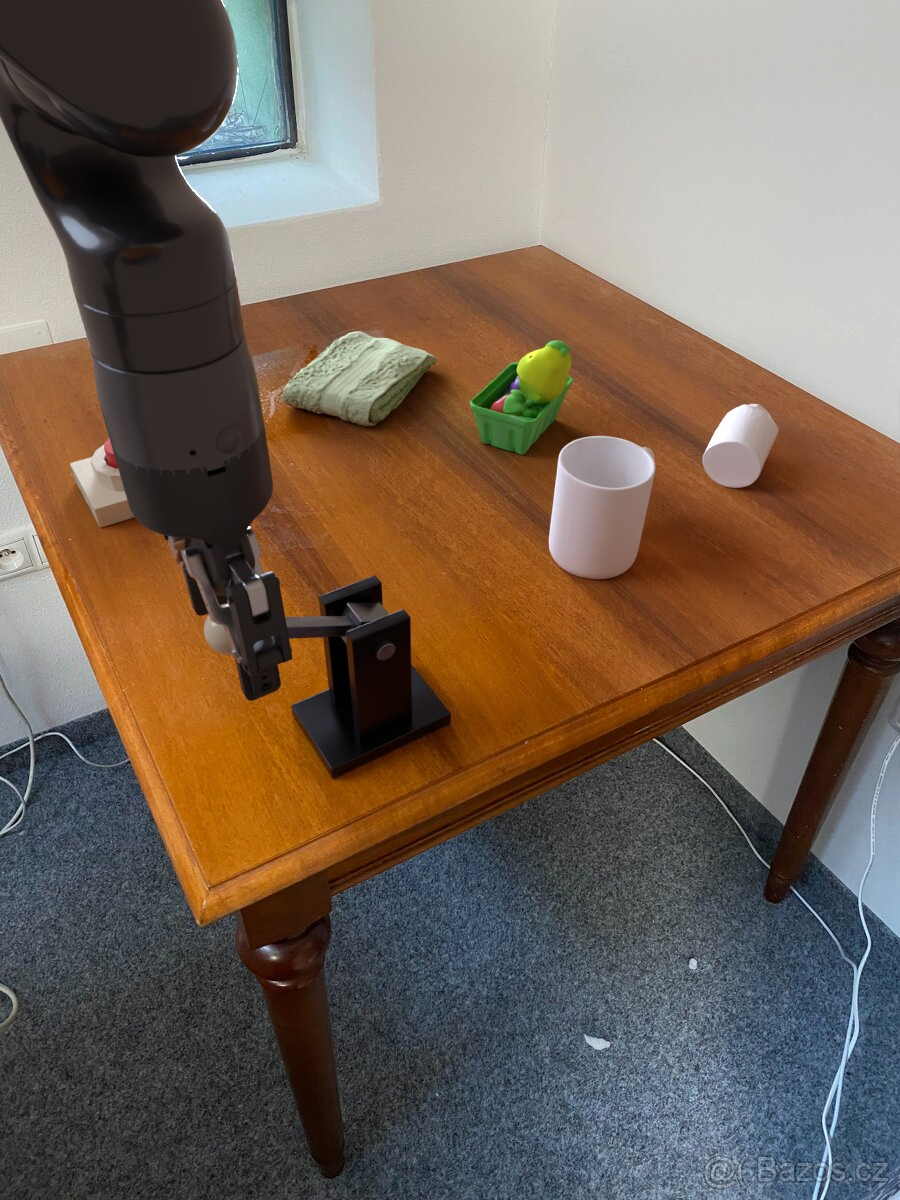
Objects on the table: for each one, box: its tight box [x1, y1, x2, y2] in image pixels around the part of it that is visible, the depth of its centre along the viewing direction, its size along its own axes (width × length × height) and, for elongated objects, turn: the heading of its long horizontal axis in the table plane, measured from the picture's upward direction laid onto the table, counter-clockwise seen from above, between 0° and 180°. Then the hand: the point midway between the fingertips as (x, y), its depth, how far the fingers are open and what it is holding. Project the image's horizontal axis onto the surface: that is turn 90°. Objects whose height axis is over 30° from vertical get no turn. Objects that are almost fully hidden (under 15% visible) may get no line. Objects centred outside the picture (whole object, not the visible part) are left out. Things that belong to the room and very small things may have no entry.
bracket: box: [290, 574, 452, 780], centre depth 63 cm, size 10×7×12 cm
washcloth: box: [280, 330, 438, 427], centre depth 103 cm, size 13×18×3 cm
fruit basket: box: [469, 339, 574, 456], centre depth 94 cm, size 11×9×11 cm
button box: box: [69, 444, 135, 529], centre depth 87 cm, size 10×9×4 cm
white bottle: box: [702, 403, 779, 489], centre depth 92 cm, size 6×12×6 cm, turn 153°
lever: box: [203, 603, 390, 656], centre depth 57 cm, size 13×3×3 cm, turn 123°
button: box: [103, 437, 118, 469], centre depth 85 cm, size 4×4×2 cm
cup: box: [548, 435, 656, 580], centre depth 80 cm, size 8×12×10 cm
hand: (235, 648), depth 55 cm, fingers open, 8 cm apart
